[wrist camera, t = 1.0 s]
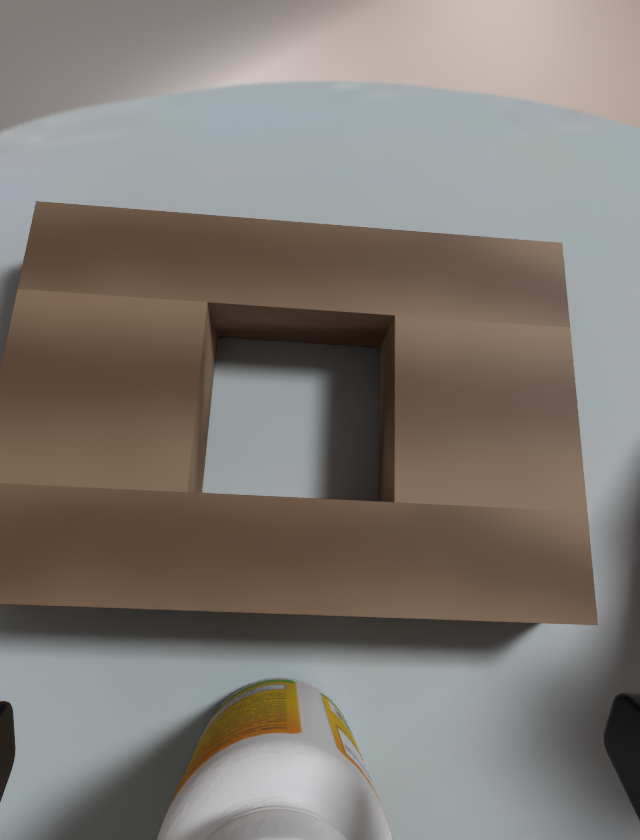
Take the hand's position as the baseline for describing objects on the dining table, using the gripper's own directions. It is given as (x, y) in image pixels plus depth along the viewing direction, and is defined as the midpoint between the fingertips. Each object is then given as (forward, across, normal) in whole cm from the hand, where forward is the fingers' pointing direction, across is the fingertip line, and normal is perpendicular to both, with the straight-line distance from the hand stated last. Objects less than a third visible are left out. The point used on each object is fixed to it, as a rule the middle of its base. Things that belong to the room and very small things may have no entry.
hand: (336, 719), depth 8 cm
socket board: (+14, 0, -1) cm, 14 cm away
